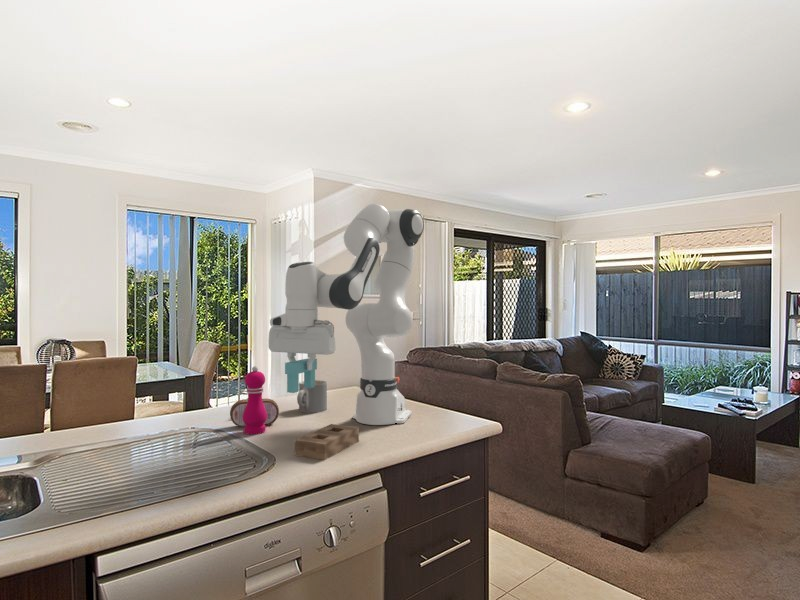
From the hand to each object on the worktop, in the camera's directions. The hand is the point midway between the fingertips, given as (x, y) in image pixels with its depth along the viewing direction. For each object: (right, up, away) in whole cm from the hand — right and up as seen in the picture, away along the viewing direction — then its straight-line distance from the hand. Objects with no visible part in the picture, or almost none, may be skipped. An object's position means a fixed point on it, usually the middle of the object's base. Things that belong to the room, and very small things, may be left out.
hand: (301, 369), depth 140 cm
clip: (0, -6, 0) cm, 6 cm away
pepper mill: (-17, -21, +13) cm, 30 cm away
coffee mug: (-5, -21, +41) cm, 47 cm away
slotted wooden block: (+8, -21, -3) cm, 23 cm away
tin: (-19, -21, +20) cm, 35 cm away
